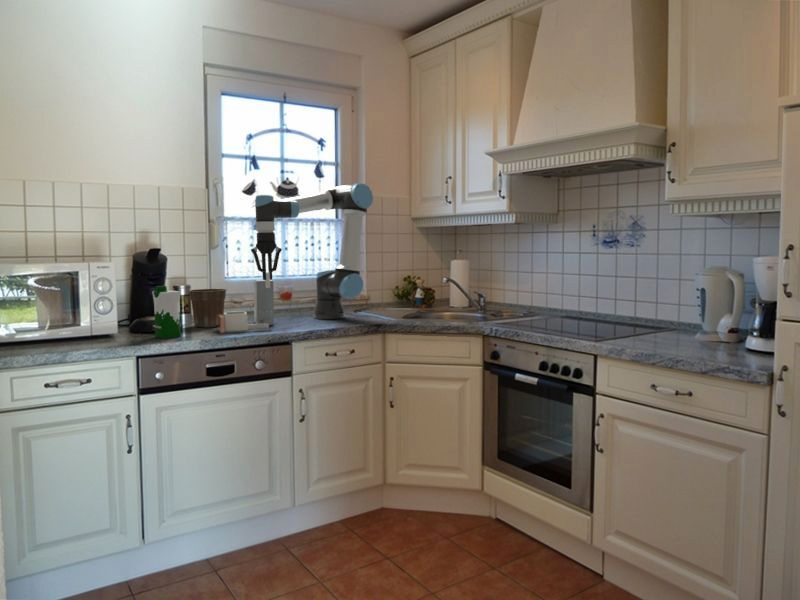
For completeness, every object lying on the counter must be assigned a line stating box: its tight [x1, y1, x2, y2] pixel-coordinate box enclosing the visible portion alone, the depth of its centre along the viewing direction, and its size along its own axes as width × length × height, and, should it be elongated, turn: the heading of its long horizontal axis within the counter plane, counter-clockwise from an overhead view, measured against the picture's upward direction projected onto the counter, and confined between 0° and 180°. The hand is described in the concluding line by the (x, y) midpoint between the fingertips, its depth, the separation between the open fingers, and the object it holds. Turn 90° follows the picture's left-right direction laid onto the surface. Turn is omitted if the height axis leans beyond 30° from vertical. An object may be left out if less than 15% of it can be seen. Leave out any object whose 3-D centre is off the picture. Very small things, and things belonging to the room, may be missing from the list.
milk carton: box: [152, 285, 182, 340], centre depth 238 cm, size 9×9×20 cm
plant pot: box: [187, 288, 228, 328], centre depth 270 cm, size 16×16×16 cm
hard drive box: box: [253, 278, 275, 326], centre depth 277 cm, size 16×8×20 cm, turn 18°
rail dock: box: [217, 314, 272, 335], centre depth 256 cm, size 20×12×6 cm, turn 111°
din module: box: [224, 310, 249, 331], centre depth 255 cm, size 9×6×8 cm, turn 111°
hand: (267, 287), depth 260 cm, fingers closed
